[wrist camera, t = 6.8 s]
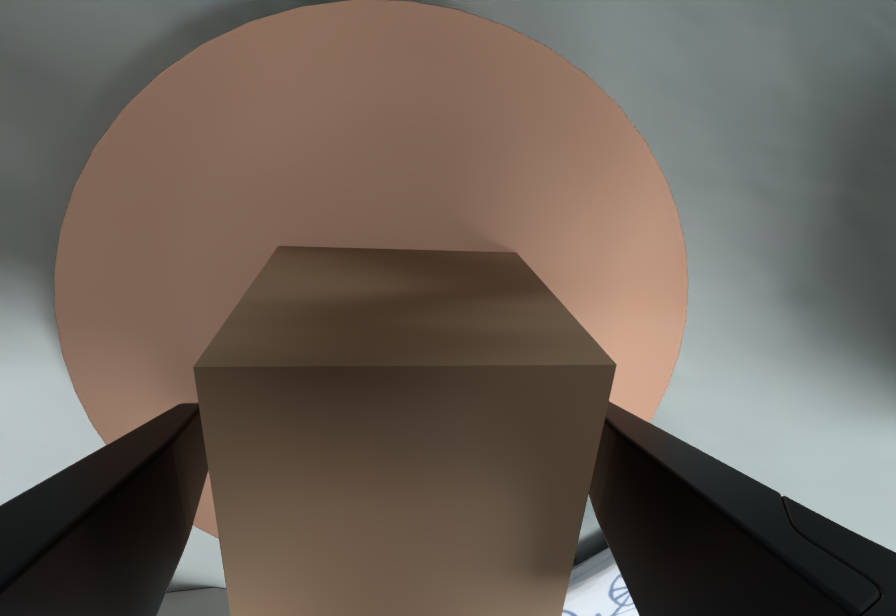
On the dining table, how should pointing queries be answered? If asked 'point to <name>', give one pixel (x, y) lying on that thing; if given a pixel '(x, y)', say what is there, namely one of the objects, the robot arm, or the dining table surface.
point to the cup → (196, 603)
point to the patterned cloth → (598, 589)
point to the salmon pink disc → (358, 193)
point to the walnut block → (400, 435)
